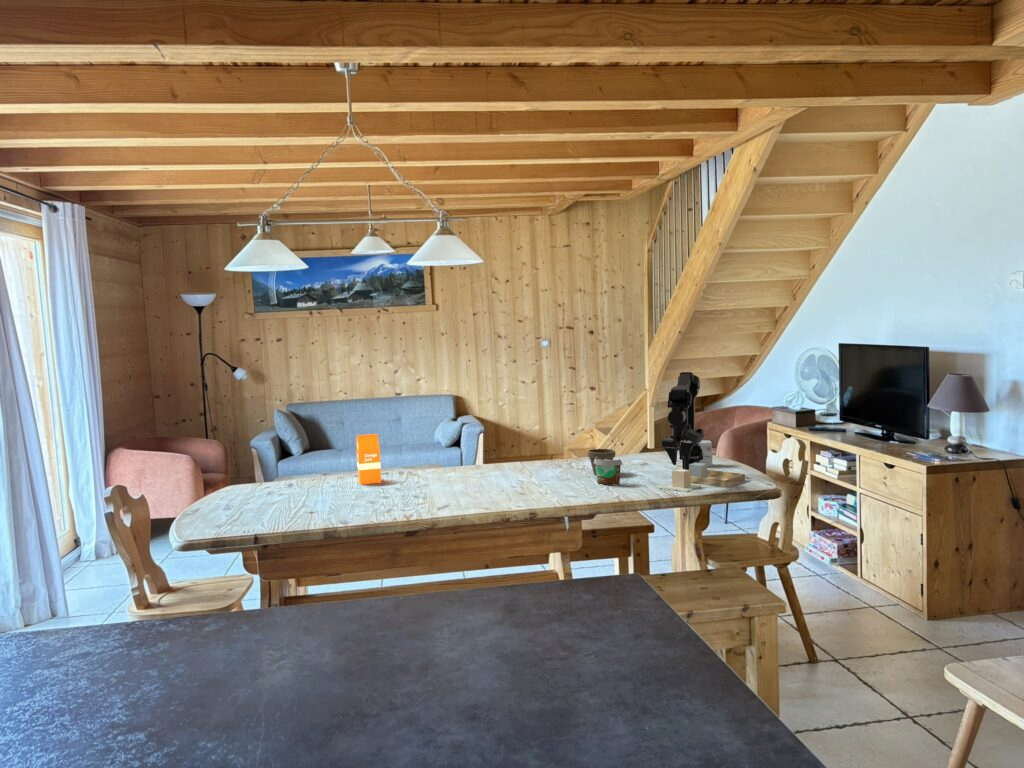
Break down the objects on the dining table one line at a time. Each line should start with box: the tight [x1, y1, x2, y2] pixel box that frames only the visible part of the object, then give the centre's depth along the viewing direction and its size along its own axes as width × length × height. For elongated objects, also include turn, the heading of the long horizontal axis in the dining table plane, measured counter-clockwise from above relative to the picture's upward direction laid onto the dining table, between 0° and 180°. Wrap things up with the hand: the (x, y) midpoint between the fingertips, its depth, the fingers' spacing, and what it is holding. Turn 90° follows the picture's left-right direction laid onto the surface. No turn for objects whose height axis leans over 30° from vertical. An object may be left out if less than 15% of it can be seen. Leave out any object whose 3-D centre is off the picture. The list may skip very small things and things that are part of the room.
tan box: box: [671, 468, 692, 488], centre depth 287 cm, size 5×5×6 cm
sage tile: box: [660, 482, 702, 493], centre depth 288 cm, size 11×11×1 cm
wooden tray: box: [691, 469, 746, 489], centre depth 296 cm, size 22×16×3 cm
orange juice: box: [356, 433, 382, 485], centre depth 319 cm, size 8×9×20 cm
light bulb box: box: [698, 439, 713, 468], centre depth 328 cm, size 11×7×11 cm, turn 84°
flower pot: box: [587, 448, 616, 476], centre depth 318 cm, size 12×11×10 cm
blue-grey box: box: [689, 463, 708, 478], centre depth 299 cm, size 5×5×6 cm
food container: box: [594, 457, 623, 486], centre depth 299 cm, size 12×6×10 cm, turn 47°
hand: (680, 463), depth 287 cm, fingers open, 9 cm apart
